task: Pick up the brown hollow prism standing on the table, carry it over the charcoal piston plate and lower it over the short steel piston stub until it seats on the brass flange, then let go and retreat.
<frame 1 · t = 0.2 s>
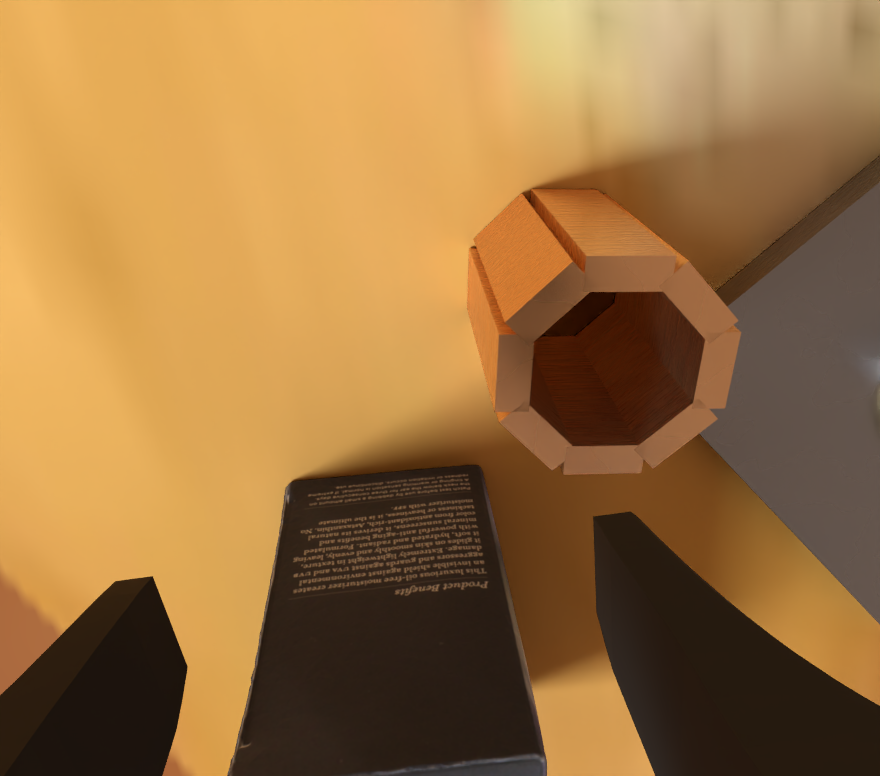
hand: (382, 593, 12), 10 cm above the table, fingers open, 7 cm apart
brown hollow prism: (555, 278, 20), on the table
small box: (403, 594, 25), on the table
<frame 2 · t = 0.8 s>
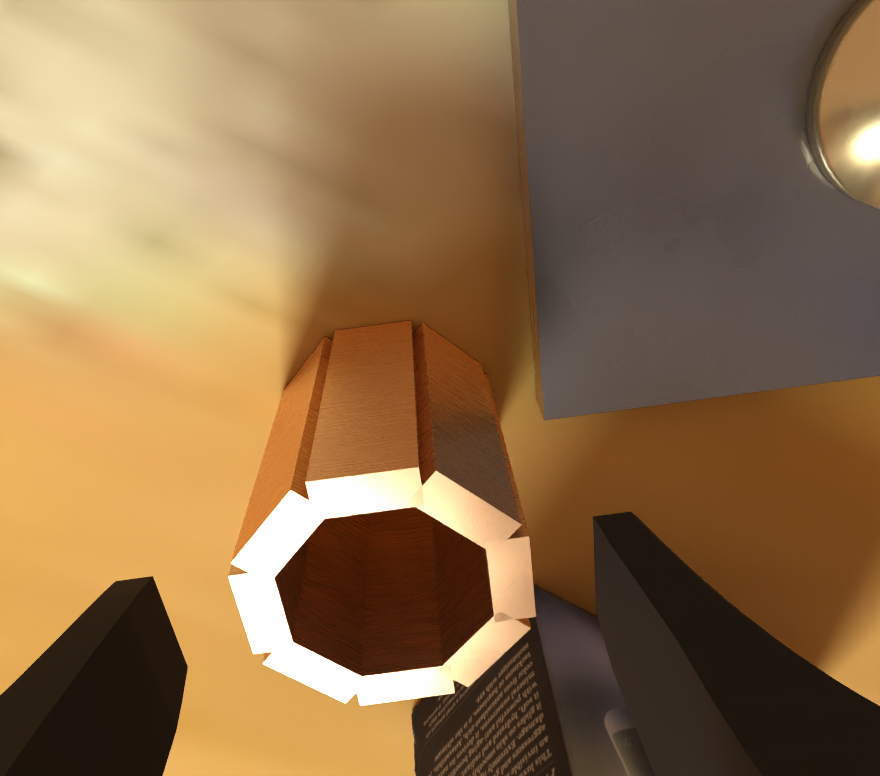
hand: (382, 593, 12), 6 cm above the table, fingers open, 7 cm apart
brown hollow prism: (389, 419, 17), on the table
small box: (605, 704, 22), on the table
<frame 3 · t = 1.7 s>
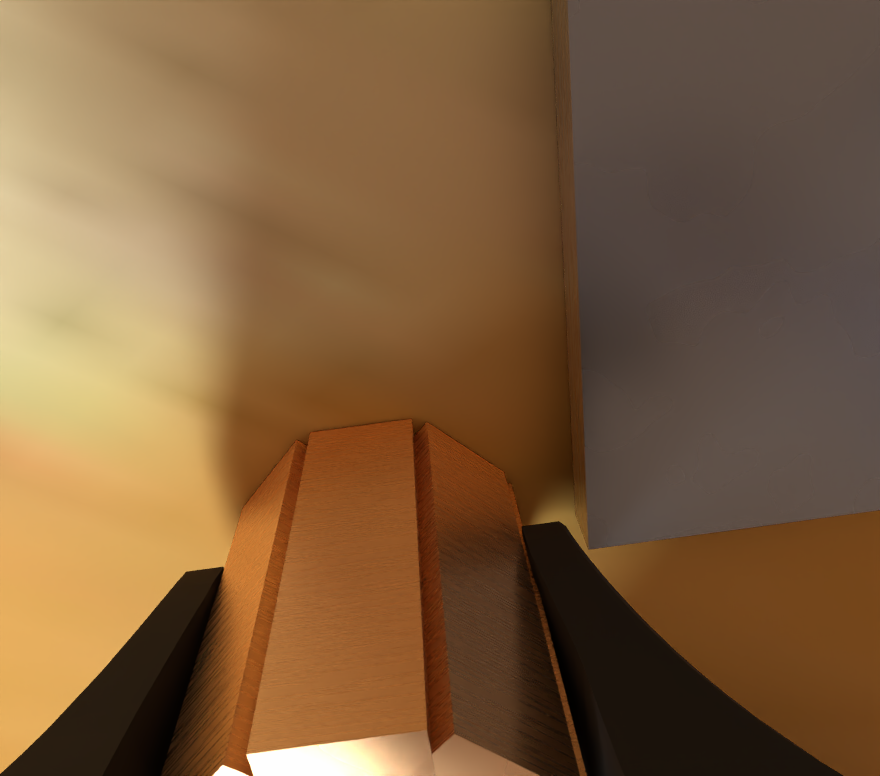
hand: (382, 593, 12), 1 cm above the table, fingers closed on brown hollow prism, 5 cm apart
brown hollow prism: (383, 539, 13), on the table, touching gripper
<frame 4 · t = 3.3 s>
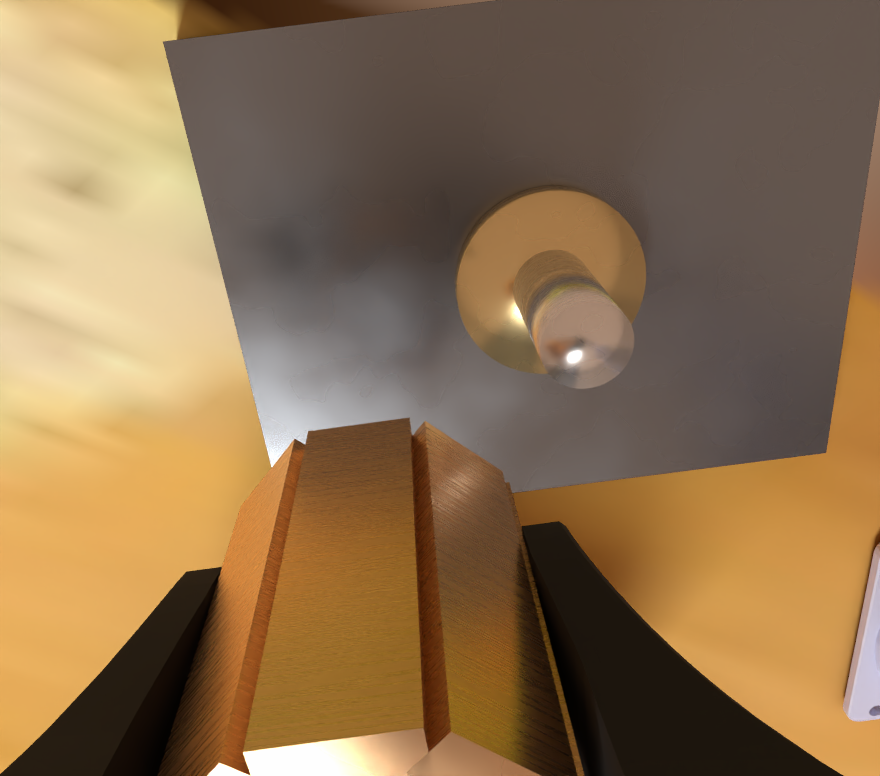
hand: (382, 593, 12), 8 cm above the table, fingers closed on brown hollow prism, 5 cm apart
brown hollow prism: (381, 538, 13), point 7 cm above the table, touching gripper
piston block: (539, 267, 18), on the table
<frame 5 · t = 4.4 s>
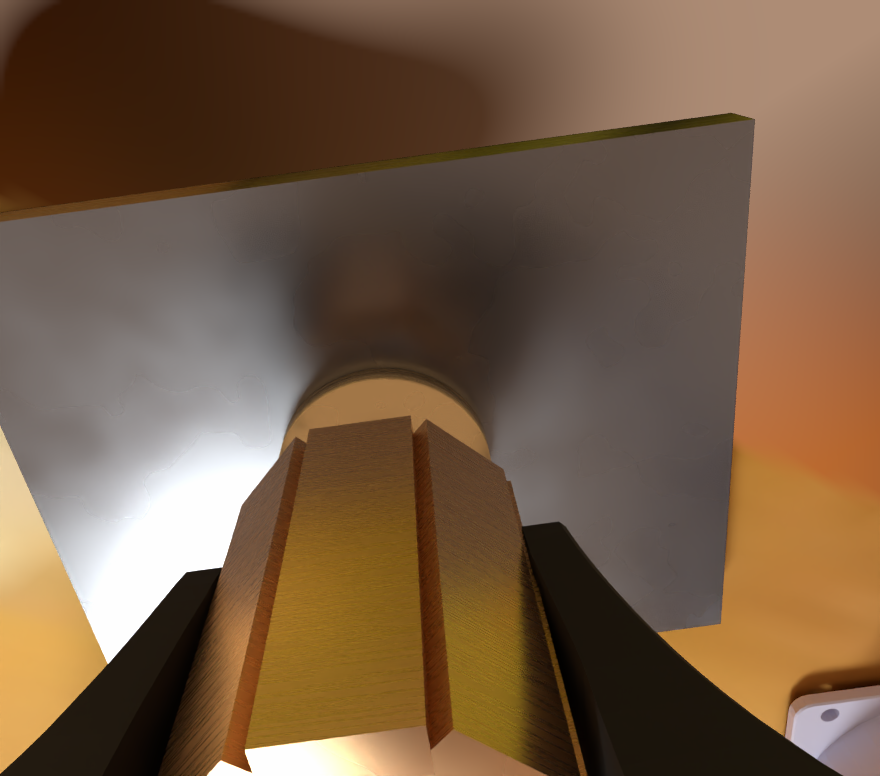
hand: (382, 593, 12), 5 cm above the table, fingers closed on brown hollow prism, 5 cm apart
brown hollow prism: (382, 537, 13), point 4 cm above the table, touching gripper
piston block: (386, 438, 17), on the table
when the fingers open (4 cm above the table, at t = 5.1 s): brown hollow prism drops 1 cm, resting on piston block.
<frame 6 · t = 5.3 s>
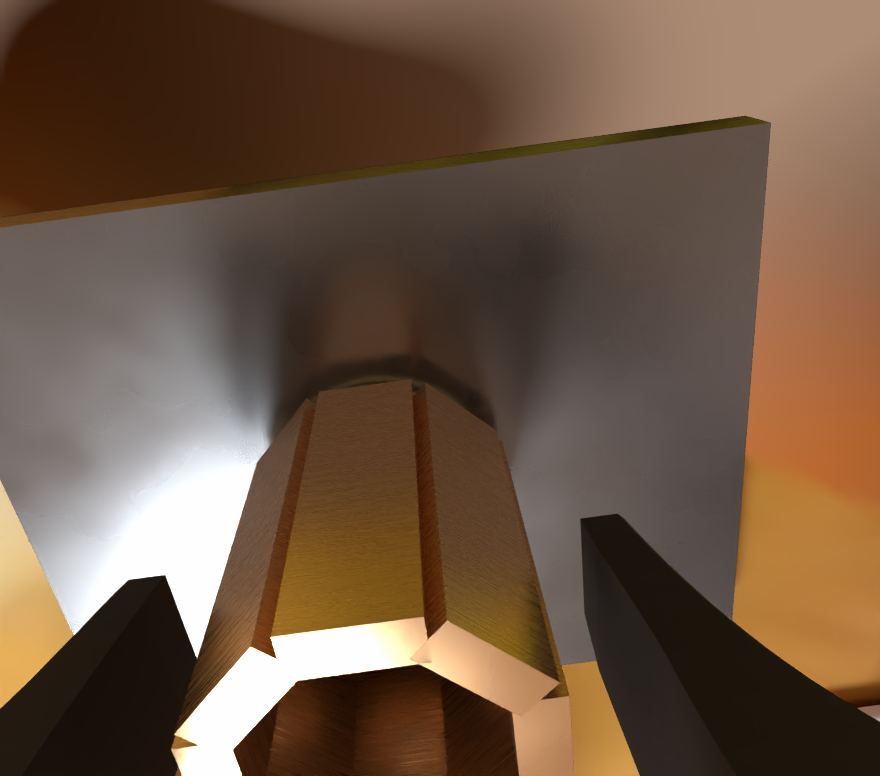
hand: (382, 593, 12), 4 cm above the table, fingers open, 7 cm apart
brown hollow prism: (385, 493, 15), point 2 cm above the table, touching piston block
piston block: (384, 452, 16), on the table
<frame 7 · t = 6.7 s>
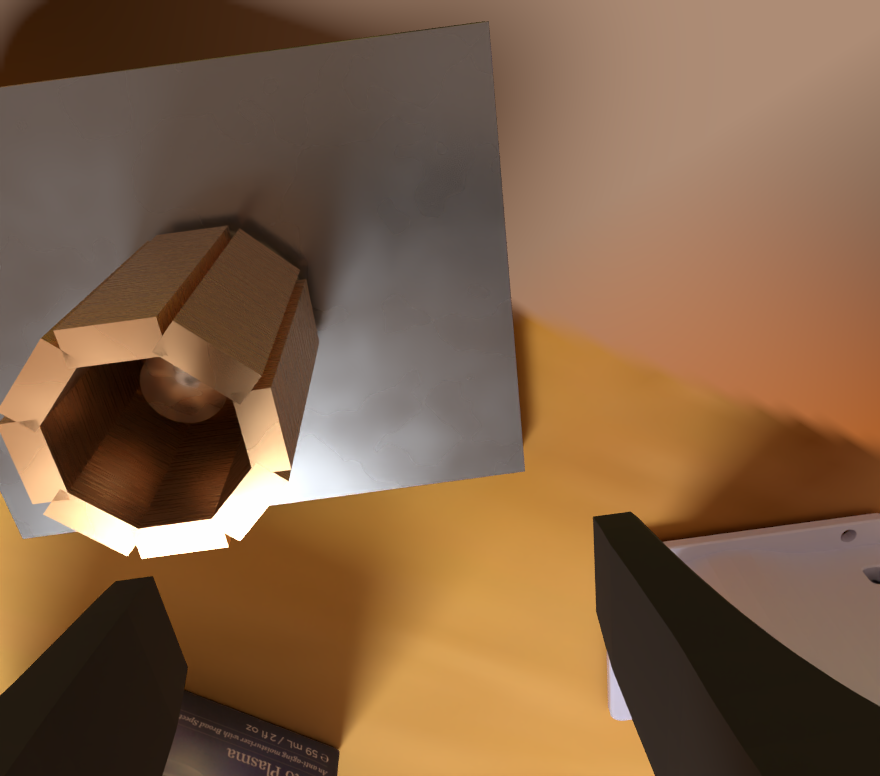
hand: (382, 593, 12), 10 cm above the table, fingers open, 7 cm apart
brown hollow prism: (218, 323, 18), point 2 cm above the table, touching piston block
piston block: (230, 303, 20), on the table
small box: (186, 741, 28), on the table
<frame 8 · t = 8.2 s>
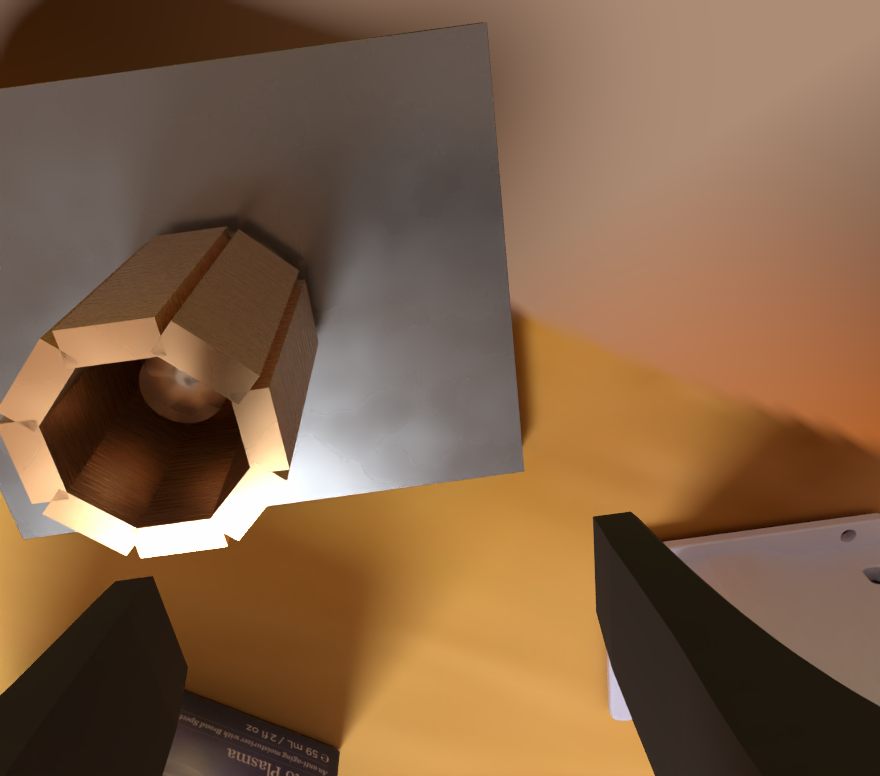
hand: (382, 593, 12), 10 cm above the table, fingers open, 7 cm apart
brown hollow prism: (217, 324, 19), point 2 cm above the table, touching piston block
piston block: (229, 304, 20), on the table
small box: (186, 741, 28), on the table
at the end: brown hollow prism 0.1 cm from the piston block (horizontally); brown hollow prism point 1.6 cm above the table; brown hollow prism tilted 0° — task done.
